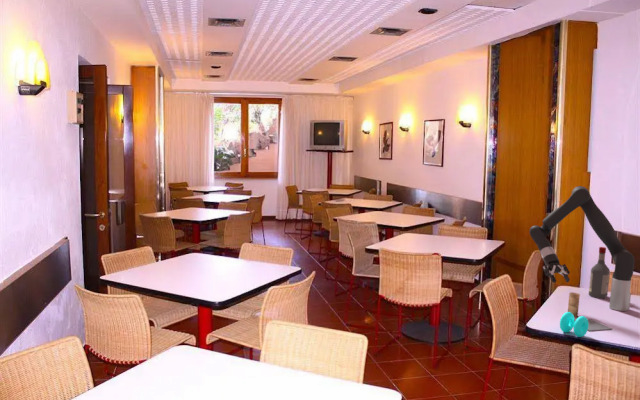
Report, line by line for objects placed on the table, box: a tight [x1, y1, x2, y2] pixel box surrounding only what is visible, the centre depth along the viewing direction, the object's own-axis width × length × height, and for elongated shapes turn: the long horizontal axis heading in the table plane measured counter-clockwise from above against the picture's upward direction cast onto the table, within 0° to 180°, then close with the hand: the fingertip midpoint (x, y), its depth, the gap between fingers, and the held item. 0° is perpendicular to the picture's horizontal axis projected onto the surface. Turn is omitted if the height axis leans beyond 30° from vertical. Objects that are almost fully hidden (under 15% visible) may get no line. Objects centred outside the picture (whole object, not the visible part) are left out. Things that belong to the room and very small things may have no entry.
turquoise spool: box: [559, 311, 589, 338], centre depth 263 cm, size 10×10×10 cm
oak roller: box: [567, 292, 581, 318], centre depth 291 cm, size 5×5×12 cm
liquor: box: [588, 246, 611, 299], centre depth 329 cm, size 9×9×30 cm
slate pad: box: [575, 318, 613, 332], centre depth 277 cm, size 14×14×1 cm
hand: (561, 281), depth 300 cm, fingers open, 8 cm apart
